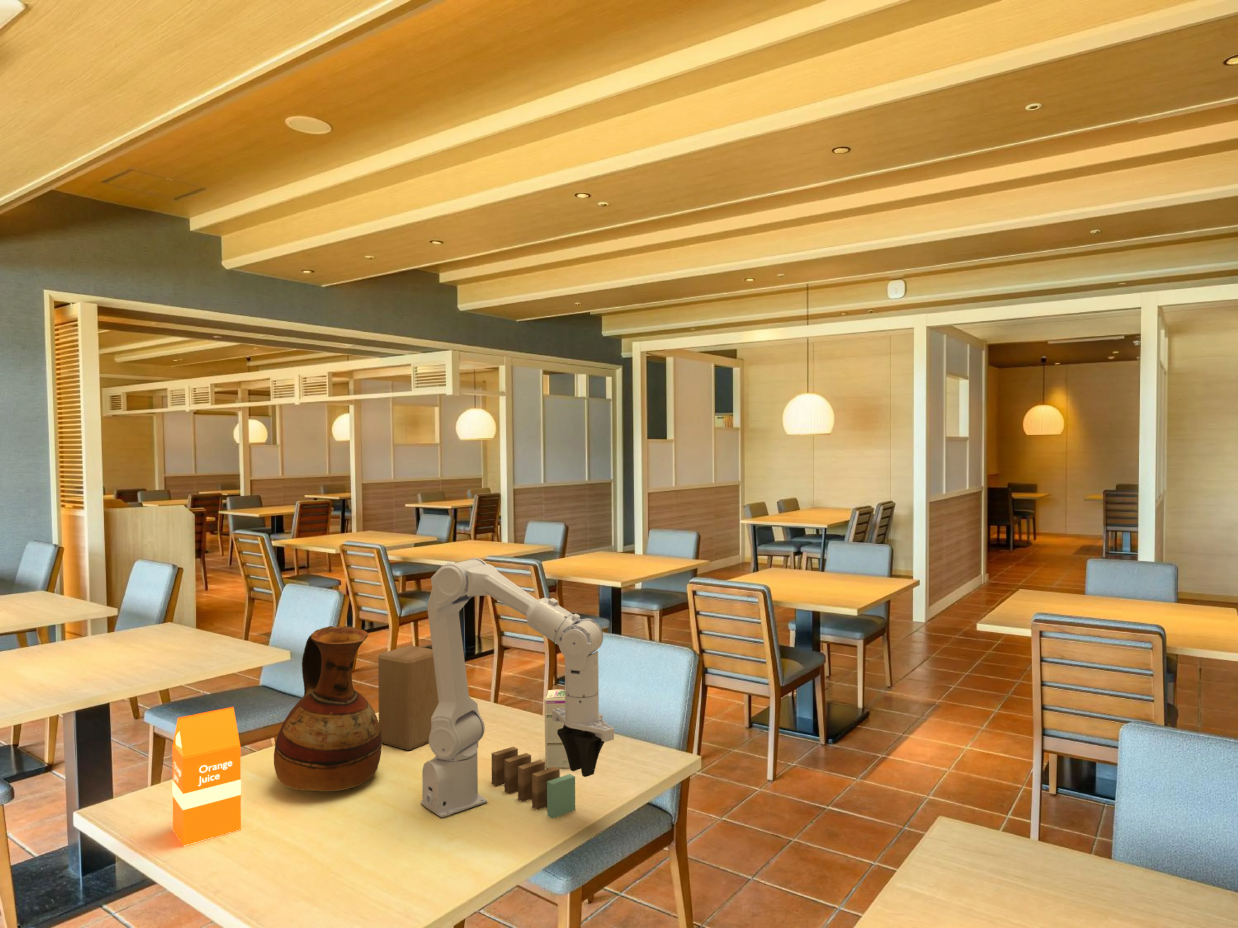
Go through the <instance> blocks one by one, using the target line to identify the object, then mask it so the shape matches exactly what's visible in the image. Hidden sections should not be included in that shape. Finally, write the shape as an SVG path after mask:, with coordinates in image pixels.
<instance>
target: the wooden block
mask: <svg viewBox="0 0 1238 928" xmlns="http://www.w3.org/2000/svg"><path fill="white" fill-rule="evenodd" d="M377 659H378V660H377V661H378V667H377V668H378V669H377V670H378V671H377V672H378V675H377V676H378V722H379V726H380V730H381V738H382V744H385V745H388V746H392V747H396V748H399V749H402V750H407V751H411V750H413V749H415V748H418V747H420V746H422V745H425V744H427V743H429V735H430V732H431V726H432V725H431V717H432V715H433V713H434V711H435V709H436V708H437V706H438V703H439V700H438V692H437V684H436V675H435V667H434V659H433V651H432V648H427V647H423V646H416V645H406V646H404V647H400V648H396V649H392V650H388V651H385V652H381V653H380V654H379V655H378V658H377Z"/></svg>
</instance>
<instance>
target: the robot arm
mask: <svg viewBox="0 0 1238 928" xmlns="http://www.w3.org/2000/svg"><path fill="white" fill-rule="evenodd" d="M430 583H431V591H430V596H429V598H428V601H427V607H426V608H427V615H428V623H429V624H428V625H429V632H430V633H429V634H430V642H431V649H432V651H433V659H434V667H435V675H436V684H437V692H438V700H439V703H438V706H437V708H436V709H435V711H434V713H433V715H432V717H431V725H432V726H431V732H430V735H429V742H428V744H429V747H430V750H431V751H432V753H433V755H435V756H434V757H433V758H432V759H430V760H428V761H426V762H424V764H423V767H422V771H421V772H422V778H421V779H422V787H421V788H422V800H420V804H421V805H422V806H423V807H425V808H427V809H428V810H429V811H431V812H433V813H434V814H435V815H437V816H438V817H440V818H445V817H447V816H450V815H453V814H456V813H459V812H462V811H466V810H468V809H471V808H473V807H476V806H479V805H482V804H486V803H487V802H488V799H487V798H486V797H485V796H482V794H479V791H478V790H479V789H478V787H479V786H478V785H479V784H478V783H479V782H478V777H479V776H478V775H479V774H478V773H479V772H478V770H479V769H478V764H479V763H478V749H479V741H481V740H482V738H483V737H484V734H485V730H486V729H485V728H486V727H485V722H484V719H483V718H482V716H481V714H480V712H479V707H478V706H479V705H478V703H477V702H476V701H475V700H474V699H473V698H471V697H470V693H469V687H468V678H467V670H466V662H465V653H464V651H465V650H464V646H463V644H464V643H463V637H462V628H461V619H460V611H461V610H462V608H463V607H465V605H466V604H468V602H469V601H470V599H472V598H474V597H479V596H480V597H481V596H482V597H483V596H490V597H492V598H493V599H496V600H497V601H498V602H500V603H502V604H504V605H505V606H507V607H509V608H511V609H512V610H515V611H516V612H518V613H520V614H522V615H523V616H525V617H526V621H527V625H528V627H530V628H531V629H533V630H534V631H535V632H537V633H539V634H541V635H542V636H544V637H545V638H547V639H548V640H550V641H551V642H553V643H554V644H556V645H558V647H559V650H560V652H561V654H562V655H563V658H564V659H565V660H564V689H565V709H564V708H557V709H553V710H552V721H555V722H557V721H560V722H562V723H564V726H563V728H561V729H558V730H557V734H558V736H559V737H560V739H561V741H562V743H563V745H564V748H565V751H566V754H567V758H568V762H569V766H570V768H569V769H570V771H571V772H575V771H578V770H580V771H581V772H580V773H581V776H582V777H583V778H588V777H590V776H593V775H594V774H595V771H596V766H597V762H598V759H599V756H600V753H601V750H602V748H603V746H604V744H605V743H607V742H610V741H614V740H615V728H614V727H612V726H611V725H609V724H608V723H607V722H606V721H605V720H604V719H603V717H604V716H603V714H602V713H599V710H600V709H599V706H600V705H599V698H600V697H599V691H600V690H599V687H600V686H599V651H598V650H599V649H600V648H601V646H602V644H603V642H604V633H603V630H602V628H601V626H600V625H599V624H598V623H597V622H596V621H595V620H594V619H592V618H583V619H581V615H579V614H578V613H574V614H573V613H572V612H570V610H569V611H568V610H567V609H566V608H564V607H563V606H560V604H558V603H559V600H557V599H556V598H553V597H552V598H548V597H542V598H539V599H537V598H535V597H534V596H533V595H531V594H529V593H528V592H527V591H525V590H524V589H523V588H521V587H519V586H518V585H517V584H515V583H514V582H513V581H511V580H510V579H508V577H506V576H504V575H503V574H502V573H500V572H499V571H498V570H497V568H496V567H495V566H494V565H492V564H490V563H486V562H485V561H484V560H483V559H481V558H479V557H478V558H477V557H474V558H469V559H468V560H464V561H459V562H454V563H445V564H444V565H442V566H441V567H439V568H438V570H437V571H435V573H434V574H433V575H432V576H431V578H430Z"/></svg>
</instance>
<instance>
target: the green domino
mask: <svg viewBox="0 0 1238 928" xmlns="http://www.w3.org/2000/svg"><path fill="white" fill-rule="evenodd" d="M546 810H547V811H546V812H547V813H546V814H547V817H549V818H551V820H552V819H553V818H554V819H556V818H558V817H561V816H563V815H566V814H569V813H572V812H574V811H576V776H575V775H573V774H571V773H568V774H566V775H563V776H560V777H559V778H556V779H553V780H550V781H547V807H546Z"/></svg>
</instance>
